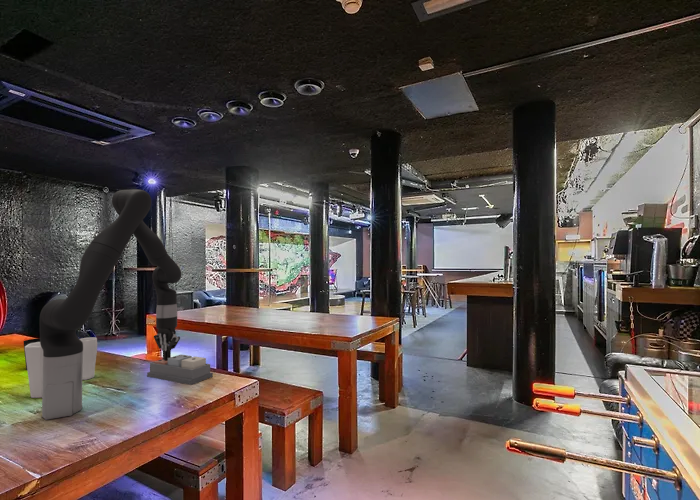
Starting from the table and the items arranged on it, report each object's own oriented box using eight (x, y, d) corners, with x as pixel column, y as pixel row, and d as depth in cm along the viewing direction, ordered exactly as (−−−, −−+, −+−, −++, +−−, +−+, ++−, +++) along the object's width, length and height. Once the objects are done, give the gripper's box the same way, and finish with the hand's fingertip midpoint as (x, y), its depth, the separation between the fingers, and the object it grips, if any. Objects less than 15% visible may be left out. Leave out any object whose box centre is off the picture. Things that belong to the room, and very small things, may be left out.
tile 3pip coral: (178, 368, 142) (178, 358, 142) (164, 372, 137) (164, 362, 137) (167, 366, 145) (167, 357, 145) (154, 370, 139) (154, 360, 140)
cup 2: (58, 386, 128) (59, 338, 128) (71, 391, 122) (72, 341, 123) (17, 396, 118) (19, 344, 119) (29, 402, 113) (31, 348, 113)
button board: (212, 376, 137) (212, 363, 137) (191, 384, 128) (191, 370, 128) (169, 369, 147) (169, 357, 147) (147, 376, 138) (147, 363, 138)
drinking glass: (101, 375, 140) (101, 337, 140) (86, 381, 133) (87, 341, 134) (85, 375, 140) (85, 337, 141) (70, 381, 134) (70, 340, 134)
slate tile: (191, 365, 139) (191, 355, 139) (178, 369, 134) (178, 359, 134) (180, 363, 142) (181, 354, 142) (167, 367, 136) (167, 357, 136)
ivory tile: (205, 367, 136) (205, 357, 136) (192, 371, 130) (192, 361, 131) (194, 365, 138) (194, 355, 139) (181, 369, 133) (181, 359, 133)
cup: (27, 367, 153) (27, 339, 154) (49, 364, 156) (50, 337, 157) (19, 371, 146) (20, 342, 147) (43, 369, 149) (43, 340, 150)
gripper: (186, 315, 142) (186, 359, 142) (164, 313, 148) (163, 355, 147) (169, 318, 135) (169, 364, 135) (147, 316, 141) (146, 360, 140)
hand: (166, 359), depth 141 cm, fingers closed
